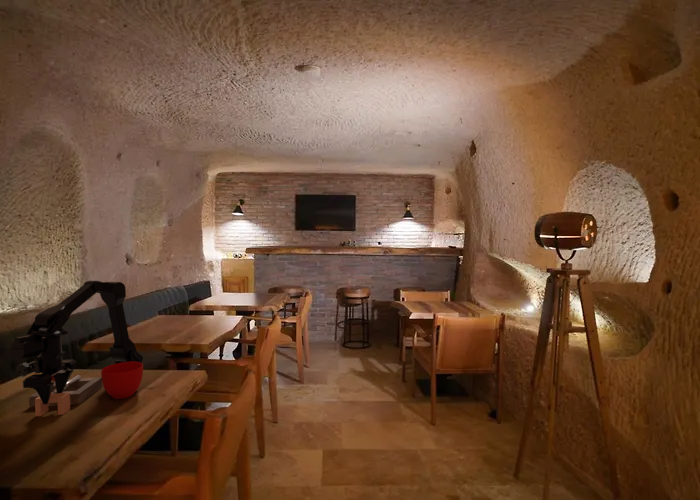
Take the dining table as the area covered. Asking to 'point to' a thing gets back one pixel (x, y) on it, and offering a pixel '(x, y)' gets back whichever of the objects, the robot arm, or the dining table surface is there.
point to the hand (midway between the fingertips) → (52, 399)
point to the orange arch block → (61, 398)
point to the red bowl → (122, 379)
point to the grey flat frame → (75, 391)
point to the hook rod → (70, 382)
